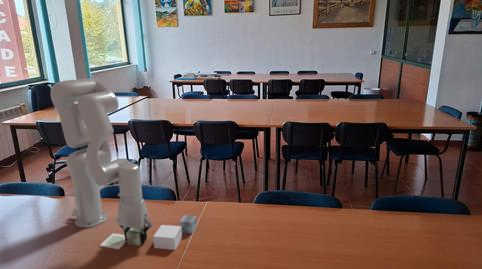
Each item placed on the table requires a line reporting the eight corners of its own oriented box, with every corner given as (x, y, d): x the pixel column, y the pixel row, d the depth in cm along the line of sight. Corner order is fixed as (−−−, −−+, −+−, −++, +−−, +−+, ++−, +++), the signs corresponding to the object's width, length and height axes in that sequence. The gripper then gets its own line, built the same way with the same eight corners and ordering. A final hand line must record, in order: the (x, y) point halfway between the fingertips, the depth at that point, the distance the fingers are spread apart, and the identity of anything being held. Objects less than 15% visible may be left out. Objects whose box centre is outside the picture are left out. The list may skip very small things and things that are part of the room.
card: (100, 246, 122) (99, 244, 122) (112, 234, 130) (112, 233, 130) (118, 249, 121) (118, 247, 120) (130, 237, 128) (130, 235, 128)
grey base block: (154, 248, 121) (153, 236, 120) (162, 236, 129) (161, 224, 127) (175, 250, 120) (174, 238, 119) (182, 237, 128) (181, 226, 126)
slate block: (180, 232, 131) (179, 221, 130) (185, 225, 136) (184, 214, 134) (192, 233, 130) (191, 222, 128) (196, 227, 134) (196, 216, 133)
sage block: (127, 244, 124) (126, 232, 122) (134, 237, 128) (133, 225, 127) (139, 246, 122) (138, 234, 121) (146, 238, 127) (145, 227, 126)
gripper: (104, 199, 119) (110, 242, 124) (147, 204, 115) (151, 249, 120) (116, 190, 126) (121, 231, 131) (157, 195, 122) (161, 237, 127)
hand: (136, 239), depth 125 cm, fingers open, 5 cm apart
